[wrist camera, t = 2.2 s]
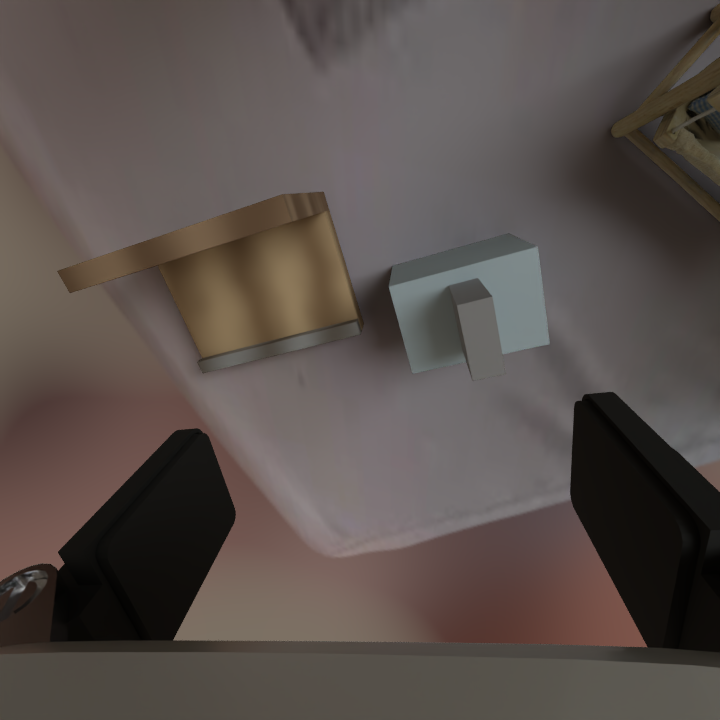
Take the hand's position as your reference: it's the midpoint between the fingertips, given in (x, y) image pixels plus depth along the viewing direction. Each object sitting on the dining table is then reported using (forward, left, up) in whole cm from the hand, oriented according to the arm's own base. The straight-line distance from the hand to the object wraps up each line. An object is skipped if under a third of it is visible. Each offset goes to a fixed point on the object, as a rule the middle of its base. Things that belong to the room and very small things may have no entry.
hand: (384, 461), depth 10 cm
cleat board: (+13, -1, -27) cm, 30 cm away
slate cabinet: (-4, +3, -27) cm, 28 cm away
